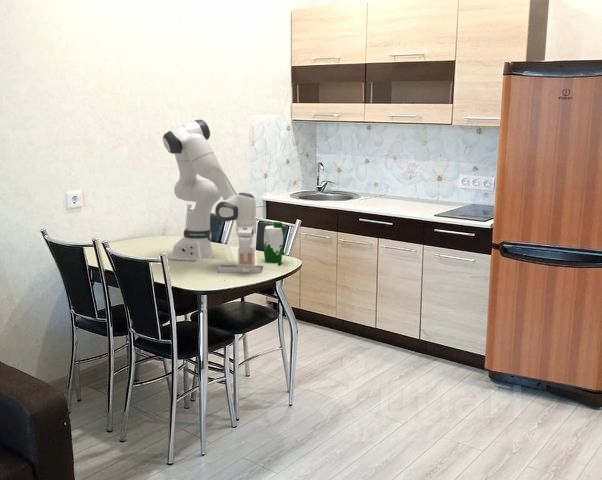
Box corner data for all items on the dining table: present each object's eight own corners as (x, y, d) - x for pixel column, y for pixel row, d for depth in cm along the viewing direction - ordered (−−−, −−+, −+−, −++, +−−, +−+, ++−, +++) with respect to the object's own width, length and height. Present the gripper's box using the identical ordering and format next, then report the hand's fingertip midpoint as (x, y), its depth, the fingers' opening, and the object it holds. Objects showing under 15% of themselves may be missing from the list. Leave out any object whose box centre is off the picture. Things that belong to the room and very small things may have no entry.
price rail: (217, 272, 284) (217, 267, 284) (218, 272, 285) (218, 266, 285) (260, 273, 284) (260, 267, 283) (260, 272, 285) (260, 267, 284)
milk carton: (282, 265, 303) (282, 224, 299) (263, 265, 304) (263, 224, 300) (283, 261, 312) (283, 221, 308) (264, 261, 312) (264, 221, 308)
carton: (238, 269, 286) (238, 249, 284) (239, 266, 291) (239, 247, 289) (253, 269, 286) (253, 249, 284) (254, 266, 291) (254, 247, 289)
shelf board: (216, 275, 285) (216, 272, 284) (221, 267, 298) (221, 265, 298) (261, 275, 284) (261, 273, 284) (263, 268, 298) (263, 265, 298)
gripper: (241, 225, 295) (242, 254, 298) (236, 233, 275) (237, 264, 278) (255, 225, 295) (255, 254, 298) (251, 233, 275) (251, 264, 278)
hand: (246, 259), depth 288 cm, fingers closed on carton, 5 cm apart
